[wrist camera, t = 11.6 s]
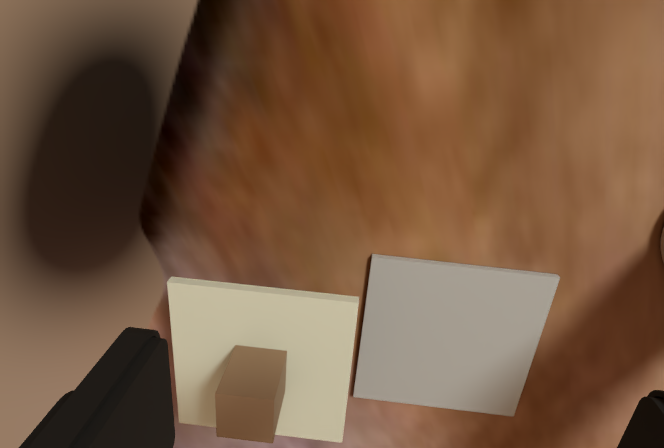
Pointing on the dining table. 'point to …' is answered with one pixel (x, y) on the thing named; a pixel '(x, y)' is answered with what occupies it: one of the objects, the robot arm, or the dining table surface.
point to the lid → (261, 359)
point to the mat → (450, 333)
